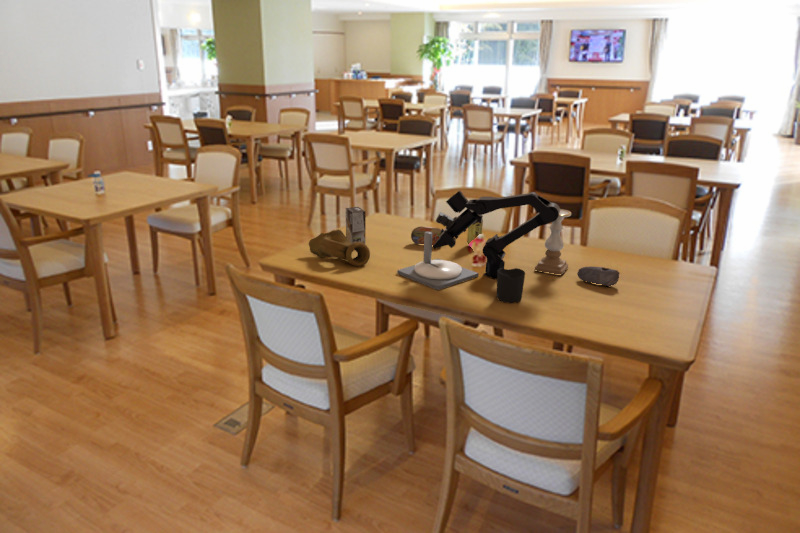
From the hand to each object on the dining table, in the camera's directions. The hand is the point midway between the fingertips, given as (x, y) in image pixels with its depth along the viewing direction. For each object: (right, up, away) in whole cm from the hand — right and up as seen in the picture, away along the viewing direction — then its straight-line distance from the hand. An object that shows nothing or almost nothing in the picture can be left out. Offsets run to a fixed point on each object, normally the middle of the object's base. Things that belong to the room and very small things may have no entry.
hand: (433, 247), depth 232 cm
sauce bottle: (+20, +1, +33) cm, 39 cm away
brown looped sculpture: (-38, -5, +12) cm, 40 cm away
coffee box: (-33, +2, +31) cm, 45 cm away
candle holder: (+47, -9, +6) cm, 48 cm away
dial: (+2, -9, -4) cm, 10 cm away
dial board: (+2, -11, -3) cm, 11 cm away
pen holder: (+25, -19, -23) cm, 39 cm away
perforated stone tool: (+61, -14, -8) cm, 63 cm away
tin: (-1, +2, +33) cm, 33 cm away
